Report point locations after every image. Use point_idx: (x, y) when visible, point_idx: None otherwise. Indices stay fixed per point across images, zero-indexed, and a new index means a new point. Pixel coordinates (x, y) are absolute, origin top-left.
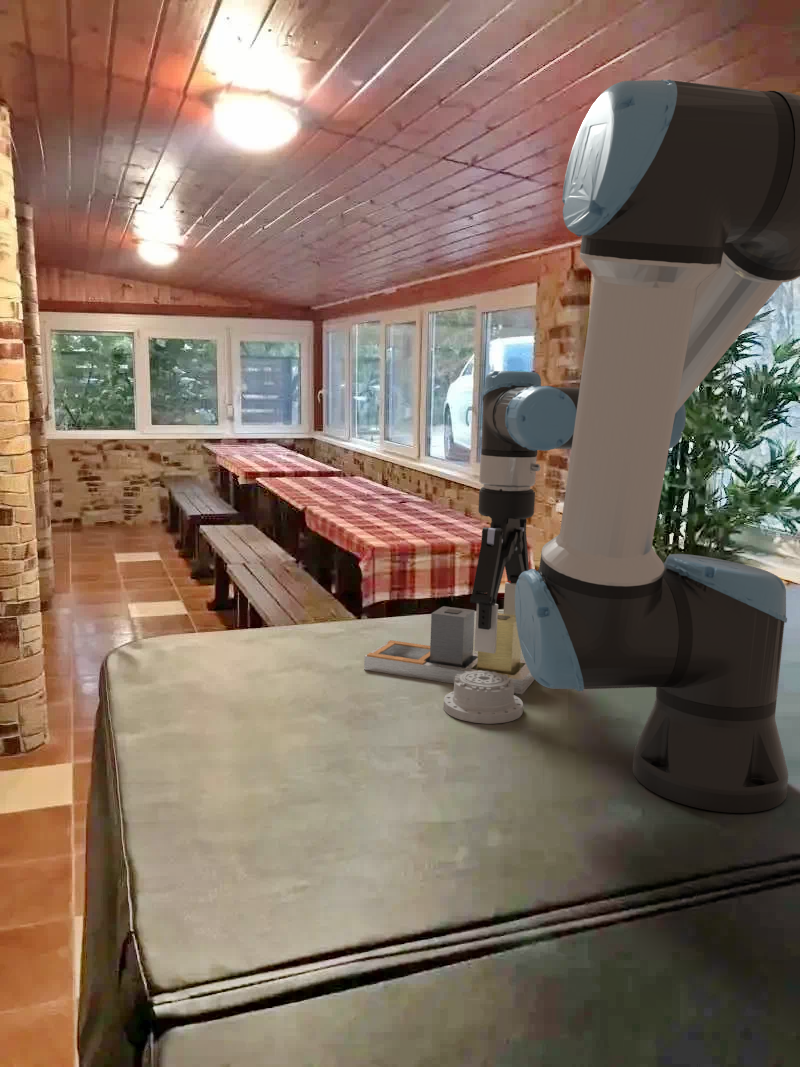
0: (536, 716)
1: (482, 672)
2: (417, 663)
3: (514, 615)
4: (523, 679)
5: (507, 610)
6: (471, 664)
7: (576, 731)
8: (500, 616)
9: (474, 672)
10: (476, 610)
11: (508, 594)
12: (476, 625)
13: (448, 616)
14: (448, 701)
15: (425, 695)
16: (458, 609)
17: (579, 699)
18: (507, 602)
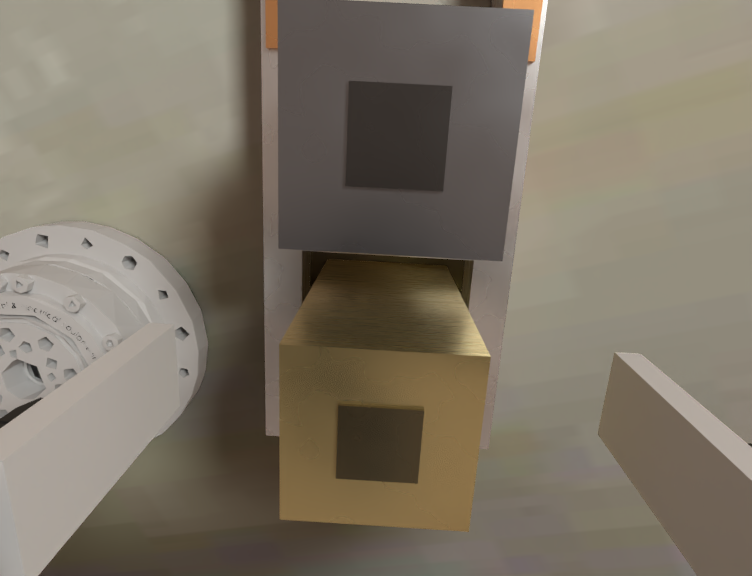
0: (126, 470)
1: (80, 360)
2: (265, 20)
3: (461, 495)
4: (277, 435)
5: (655, 413)
6: None
7: (82, 561)
8: (387, 440)
9: (69, 332)
10: (8, 424)
11: (718, 479)
12: (77, 378)
13: (280, 137)
14: (10, 250)
15: (115, 133)
16: (477, 153)
17: (313, 545)
18: (682, 440)
